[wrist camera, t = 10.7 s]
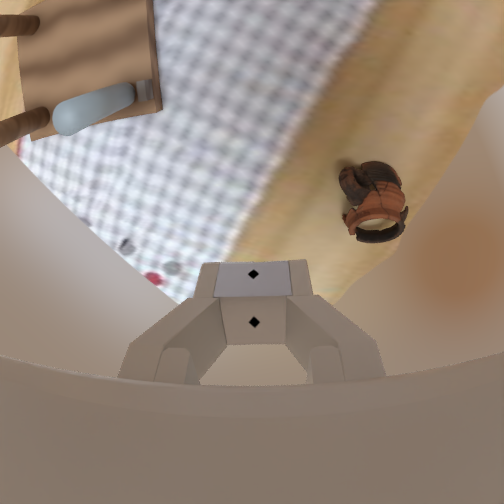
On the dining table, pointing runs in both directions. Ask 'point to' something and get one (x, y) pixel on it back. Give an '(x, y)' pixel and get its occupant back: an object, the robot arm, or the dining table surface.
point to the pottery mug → (373, 200)
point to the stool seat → (81, 58)
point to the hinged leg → (91, 107)
